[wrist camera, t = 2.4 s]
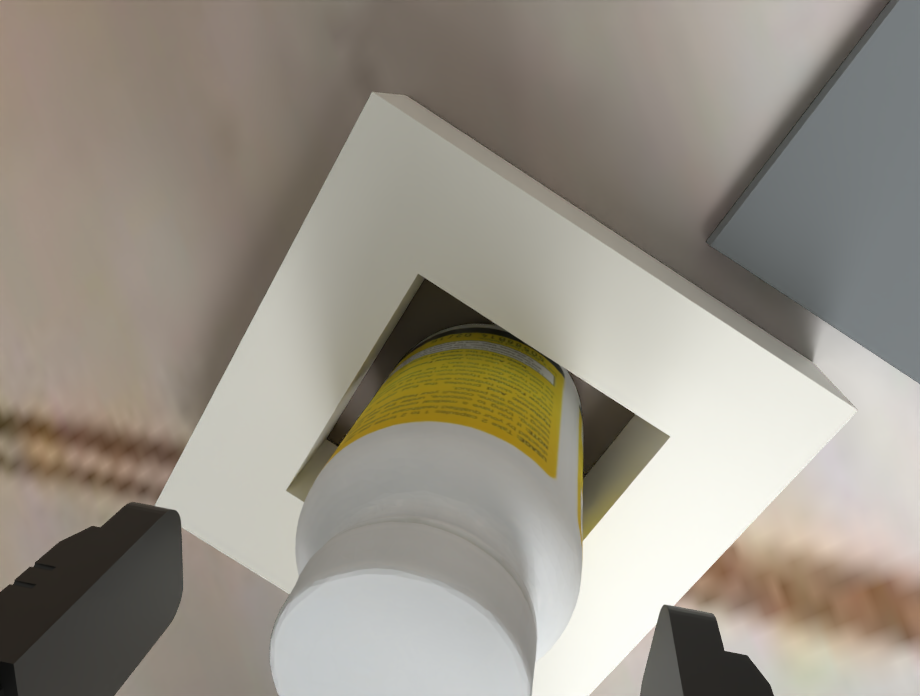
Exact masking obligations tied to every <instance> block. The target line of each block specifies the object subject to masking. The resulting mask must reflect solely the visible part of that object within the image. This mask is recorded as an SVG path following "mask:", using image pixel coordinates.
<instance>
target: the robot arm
mask: <svg viewBox="0 0 920 696" xmlns="http://www.w3.org/2000/svg"><path fill="white" fill-rule="evenodd" d="M182 591H183V566H182V535H181V519H180V515H179V513H178V512H177V511H176V510H173V509H167V508H162V507H157V506H152V505H146V504H141V503H136V502H131V503H129V504H127V505H125V506H124V507H123V508H122V509H121V510H120V511H118V512H117V513H116V514H115V515H114V516H113V517H112V518H111V519H109V520H108V521H107V522H106V523H105V524H104V525H103V526H102V527H101V528H100V527H95V526H91V527H89V528H87V529H85V530H83V531H81V532H79V533H77V534H75V535H73V536H71V537H68V538H66V539H64V540H62V541H60V542H59V543H58V544H56V545H55V546H54V547H53V548H52V549H51V550H49V551H48V552H47V553H46V554H45V555H43V556H42V557H41V558H40V559H39V560H38V561H36V562H35V565H34V567H29V568H28V569H27V570H26V571H25V572H23V573H22V574H21V575H20V576H19V577H18V578H16V579H15V582H14V584H13V585H10V584H9V585H8V586H7V587H6V588H5V589H3V590H2V591H1V592H0V696H114V695H115V694H116V693H117V691H118V690H119V689H120V687H121V686H122V685H123V684H124V682H125V681H126V680H127V678H128V677H129V676H130V675H131V673H132V672H133V671H134V670H135V668H136V667H137V666H138V664H139V663H140V662H141V661H142V659H143V658H144V657H145V655H146V654H147V653H148V652H149V650H150V649H151V648H152V646H153V645H154V644H155V643H156V641H157V640H158V639H159V638H160V636H161V635H162V634H163V632H164V631H165V630H166V629H167V627H168V626H169V625H170V623H171V622H172V620H173V618H174V616H175V614H176V612H177V610H178V607H179V604H180V601H181V597H182ZM640 696H774V695H773V692H772V689H771V686H770V684H769V683H768V681H767V680H766V679H765V678H764V676H763V675H762V674H761V672H760V671H759V670H758V669H757V667H756V666H755V665H754V664H753V662H752V661H751V660H750V658H749V657H748V656H747V655H742V654H737V653H732V652H727V651H724V647H723V643H722V639H721V636H720V632H719V628H718V624H717V621H716V618H715V616H714V615H713V614H712V613H707V612H702V611H697V610H692V609H686V608H681V607H676V606H671V605H663V606H662V608H661V610H660V613H659V617H658V620H657V624H656V628H655V632H654V636H653V640H652V644H651V648H650V652H649V656H648V660H647V664H646V668H645V672H644V676H643V681H642V686H641V693H640Z"/></svg>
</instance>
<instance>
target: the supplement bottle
mask: <svg viewBox="0 0 920 696" xmlns="http://www.w3.org/2000/svg"><path fill="white" fill-rule="evenodd" d="M582 508H583V417H582V408H581V403H580V399H579V395H578V392H577V389H576V387H575V384H574V382H573V380H572V378H571V376H570V375H569V373H568V371H567V370H566V369H565V368H563V367H562V366H560V365H559V364H557V363H556V362H554V361H553V360H551V359H550V358H548V357H546V356H545V355H543V354H542V353H540V352H539V351H537V350H536V349H534V348H533V347H531V346H529V345H528V344H526V343H525V342H523V341H522V340H520V339H519V338H517V337H515V336H514V335H512V334H511V333H509V332H508V331H506V330H505V329H503V328H502V327H500V326H498V325H493V324H465V325H459V326H454V327H451V328H448V329H444V330H442V331H439V332H437V333H435V334H433V335H431V336H429V337H428V338H426V339H424V340H423V341H421V342H420V343H419V344H417V345H416V346H415V347H414V348H412V349H411V350H410V351H409V352H408V353H407V354H406V355H405V356H404V357H403V358H402V359H401V360H400V362H399V363H398V364H397V365H396V366H395V368H394V369H393V371H392V372H391V374H390V375H389V376H388V378H387V379H386V380H385V382H384V383H383V385H382V386H381V387H380V389H379V391H378V392H377V393H376V395H375V396H374V398H373V399H372V400H371V402H370V403H369V404H368V406H367V407H366V408H365V410H364V411H363V413H362V414H361V415H360V417H359V418H358V419H357V421H356V422H355V424H354V425H353V427H352V428H351V429H350V431H349V432H348V434H347V435H346V436H345V438H344V439H343V441H342V442H341V443H340V445H339V446H338V448H337V449H336V451H335V452H334V453H333V455H332V456H331V458H330V459H329V460H328V462H327V463H326V465H325V466H324V468H323V469H322V471H321V472H320V474H319V475H318V477H317V478H316V480H315V482H314V484H313V486H312V487H311V489H310V491H309V493H308V495H307V497H306V499H305V502H304V504H303V507H302V510H301V513H300V516H299V520H298V525H297V532H296V545H295V555H296V564H297V570H298V575H299V578H298V580H297V582H296V585H295V586H294V588H293V590H292V591H291V593H290V595H289V597H288V598H287V600H286V602H285V603H284V605H283V607H282V609H281V610H280V612H279V614H278V616H277V619H276V621H275V624H274V627H273V631H272V634H271V641H270V666H271V672H272V677H273V680H274V683H275V687H276V690H277V692H278V695H279V696H532V688H533V678H534V669H535V662H536V661H538V660H539V659H540V658H541V657H543V656H544V655H545V654H546V653H547V652H548V651H549V650H550V649H551V648H552V646H553V645H554V644H555V643H556V641H557V640H558V639H559V638H560V636H561V635H562V633H563V632H564V630H565V629H566V627H567V625H568V623H569V621H570V619H571V616H572V614H573V612H574V609H575V607H576V603H577V599H578V596H579V592H580V585H581V574H582V561H583V536H582V532H583V527H582V513H583V510H582Z"/></svg>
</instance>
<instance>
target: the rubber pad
mask: <svg viewBox="0 0 920 696" xmlns="http://www.w3.org/2000/svg"><path fill="white" fill-rule="evenodd" d="M706 242H707V243H708V244H709V245H710V246H712V247H713V248H715V249H716V250H718V251H719V252H721V253H722V254H724V255H725V256H727V257H728V258H730V259H731V260H733V261H734V262H736V263H737V264H739V265H740V266H742V267H743V268H745V269H746V270H748V271H749V272H751V273H752V274H754V275H755V276H757V277H759V278H760V279H762V280H763V281H765V282H766V283H768V284H769V285H771V286H772V287H774V288H775V289H777V290H778V291H780V292H781V293H783V294H784V295H786V296H787V297H789V298H790V299H792V300H793V301H795V302H796V303H798V304H799V305H801V306H802V307H804V308H806V309H807V310H809V311H810V312H812V313H813V314H815V315H816V316H818V317H819V318H821V319H822V320H824V321H825V322H827V323H828V324H830V325H831V326H833V327H834V328H836V329H837V330H839V331H840V332H842V333H843V334H845V335H846V336H848V337H849V338H851V339H852V340H854V341H856V342H857V343H859V344H860V345H862V346H863V347H865V348H866V349H868V350H869V351H871V352H872V353H874V354H875V355H877V356H878V357H880V358H881V359H883V360H884V361H886V362H887V363H889V364H890V365H892V366H893V367H895V368H896V369H898V370H899V371H901V372H902V373H904V374H906V375H907V376H909V377H910V378H912V379H913V380H915V381H916V382H918V383H919V384H920V0H890V2H889V3H888V4H887V5H886V7H885V8H884V9H883V11H882V12H881V13H880V15H879V16H878V17H877V19H876V20H875V21H874V22H873V24H872V25H871V26H870V28H869V29H868V30H867V32H866V33H865V34H864V36H863V37H862V38H861V39H860V41H859V42H858V43H857V45H856V46H855V47H854V49H853V50H852V51H851V53H850V54H849V55H848V56H847V58H846V59H845V60H844V62H843V63H842V64H841V66H840V67H839V68H838V70H837V71H836V72H835V73H834V75H833V76H832V77H831V79H830V80H829V81H828V83H827V84H826V85H825V87H824V88H823V89H822V90H821V92H820V93H819V94H818V96H817V97H816V98H815V100H814V101H813V102H812V104H811V105H810V106H809V107H808V109H807V110H806V111H805V113H804V114H803V115H802V117H801V118H800V119H799V121H798V122H797V123H796V124H795V126H794V127H793V128H792V130H791V131H790V132H789V134H788V135H787V136H786V138H785V139H784V140H783V142H782V143H781V144H780V145H779V147H778V148H777V149H776V151H775V152H774V153H773V155H772V156H771V157H770V159H769V160H768V161H767V162H766V164H765V165H764V166H763V168H762V169H761V170H760V172H759V173H758V174H757V176H756V177H755V178H754V179H753V181H752V182H751V183H750V185H749V186H748V187H747V189H746V190H745V191H744V193H743V194H742V195H741V196H740V198H739V199H738V200H737V202H736V203H735V204H734V206H733V207H732V208H731V210H730V211H729V212H728V213H727V215H726V216H725V217H724V219H723V220H722V221H721V223H720V224H719V225H718V227H717V228H716V229H715V230H714V232H713V233H712V234H711V236H710V237H709V238H708V240H707V241H706Z"/></svg>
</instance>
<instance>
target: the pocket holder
mask: <svg viewBox="0 0 920 696" xmlns="http://www.w3.org/2000/svg"><path fill="white" fill-rule="evenodd" d="M425 278H426V279H427V280H429V281H430V282H432V283H433V284H435V285H437V286H438V287H440V288H441V289H443V290H444V291H446V292H447V293H449V294H450V295H452V296H454V297H455V298H457V299H458V300H460V301H461V302H463V303H464V304H466V305H468V306H469V307H471V308H472V309H474V310H475V311H477V312H478V313H480V314H481V315H483V316H485V317H486V318H488V319H489V320H491V321H492V322H494V323H495V324H497V325H498V326H500V327H502V328H503V329H505V330H506V331H508V332H509V333H511V334H512V335H514V336H515V337H517V338H519V339H520V340H522V341H523V342H525V343H526V344H528V345H529V346H531V347H533V348H534V349H536V350H537V351H539V352H540V353H542V354H543V355H545V356H546V357H548V358H550V359H551V360H553V361H554V362H556V363H557V364H559V365H560V366H562V367H563V368H565V369H567V370H568V371H570V372H571V373H573V374H574V375H576V376H577V377H579V378H580V379H582V380H584V381H585V382H587V383H588V384H590V385H591V386H593V387H594V388H596V389H598V390H599V391H601V392H602V393H604V394H605V395H607V396H608V397H610V398H611V399H613V400H615V401H616V402H618V403H619V404H621V405H622V406H624V407H625V408H627V409H628V410H630V411H632V412H633V413H635V415H634V416H633V418H632V419H631V420H630V421H629V423H628V424H627V425H626V426H625V428H624V429H623V430H622V431H621V433H620V434H619V435H618V436H617V438H616V439H615V440H614V441H613V443H612V444H611V445H610V446H609V448H608V449H607V450H606V451H605V453H604V454H603V455H602V456H601V458H600V459H599V460H598V461H597V463H596V464H595V465H594V466H593V467H592V469H591V470H590V471H589V472H588V474H587V475H586V476H585V477H584V479H583V508H582V510H583V513H582V527H583V532H582V536H583V561H582V574H581V585H580V592H579V596H578V599H577V603H576V607H575V609H574V612H573V614H572V616H571V619H570V621H569V623H568V625H567V627H566V629H565V630H564V632H563V633H562V635H561V636H560V638H559V639H558V640H557V641H556V643H555V644H554V645H553V646H552V648H551V649H550V650H549V651H548V652H547V653H546V654H545V655H544V656H543V657H541V658H540V659H539V660H538V661H536V662H535V669H534V678H533V688H532V696H589V695H590V694H591V693H592V692H593V690H594V689H595V688H596V687H597V686H598V685H599V684H600V683H601V682H602V681H603V680H604V679H605V678H606V677H607V676H608V675H609V674H610V672H611V671H612V670H613V669H614V668H615V667H616V666H617V665H618V664H619V663H620V662H621V661H622V660H623V659H624V658H625V657H626V656H627V654H628V653H629V652H630V651H631V650H632V649H633V648H634V647H635V646H636V645H637V644H638V643H639V642H640V641H641V640H642V639H643V638H644V637H645V635H646V634H647V633H648V632H649V631H650V630H651V629H652V628H653V627H654V626H655V625H656V624H657V620H658V617H659V613H660V610H661V608H662V606H663V605H671V606H674V605H675V604H676V603H677V602H678V601H679V599H680V598H681V597H682V596H683V595H684V594H685V593H686V592H687V591H688V590H689V589H690V588H691V587H692V586H693V585H694V584H695V583H696V581H697V580H698V579H699V578H700V577H701V576H702V575H703V574H704V573H705V572H706V571H707V570H708V569H709V568H710V567H711V566H712V565H713V563H714V562H715V561H716V560H717V559H718V558H719V557H720V556H721V555H722V554H723V553H724V552H725V551H726V550H727V549H728V548H729V547H730V545H731V544H732V543H733V542H734V541H735V540H736V539H737V538H738V537H739V536H740V535H741V534H742V533H743V532H744V531H745V530H746V529H747V527H748V526H749V525H750V524H751V523H752V522H753V521H754V520H755V519H756V518H757V517H758V516H759V515H760V514H761V513H762V512H763V511H764V509H765V508H766V507H767V506H768V505H769V504H770V503H771V502H772V501H773V500H774V499H775V498H776V497H777V496H778V495H779V494H780V493H781V491H782V490H783V489H784V488H785V487H786V486H787V485H788V484H789V483H790V482H791V481H792V480H793V479H794V478H795V477H796V476H797V475H798V473H799V472H800V471H801V470H802V469H803V468H804V467H805V466H806V465H807V464H808V463H809V462H810V461H811V460H812V459H813V458H814V457H815V455H816V454H817V453H818V452H819V451H820V450H821V449H822V448H823V447H824V446H825V445H826V444H827V443H828V442H829V441H830V440H831V439H832V437H833V436H834V435H835V434H836V433H837V432H838V431H839V430H840V429H841V428H842V427H843V426H844V425H845V424H846V423H847V422H848V421H849V420H850V418H851V417H852V416H853V415H854V414H855V413H856V412H857V411H858V410H857V409H856V408H855V406H854V405H853V404H852V403H851V402H850V401H849V400H848V399H847V398H846V397H845V396H844V395H843V394H842V393H841V392H840V390H839V389H838V388H837V387H836V386H835V385H834V384H833V383H832V382H831V381H830V380H829V379H828V378H827V377H826V376H825V374H824V373H823V372H822V371H821V370H820V369H819V368H818V367H817V366H816V365H815V364H814V363H813V362H811V361H810V360H808V359H807V358H805V357H804V356H802V355H801V354H799V353H798V352H796V351H795V350H793V349H792V348H790V347H789V346H787V345H786V344H784V343H783V342H781V341H779V340H778V339H776V338H775V337H773V336H772V335H770V334H769V333H767V332H766V331H764V330H763V329H761V328H760V327H758V326H757V325H755V324H754V323H752V322H751V321H749V320H748V319H746V318H744V317H743V316H741V315H740V314H738V313H737V312H735V311H734V310H732V309H731V308H729V307H728V306H726V305H725V304H723V303H722V302H720V301H719V300H717V299H716V298H714V297H712V296H711V295H709V294H708V293H706V292H705V291H703V290H702V289H700V288H699V287H697V286H696V285H694V284H693V283H691V282H690V281H688V280H687V279H685V278H684V277H682V276H681V275H679V274H677V273H676V272H674V271H673V270H671V269H670V268H668V267H667V266H665V265H664V264H662V263H661V262H659V261H658V260H656V259H655V258H653V257H652V256H650V255H649V254H647V253H645V252H644V251H642V250H641V249H639V248H638V247H636V246H635V245H633V244H632V243H630V242H629V241H627V240H626V239H624V238H623V237H621V236H620V235H618V234H617V233H615V232H614V231H612V230H610V229H609V228H607V227H606V226H604V225H603V224H601V223H600V222H598V221H597V220H595V219H594V218H592V217H591V216H589V215H588V214H586V213H585V212H583V211H582V210H580V209H578V208H577V207H575V206H574V205H572V204H571V203H569V202H568V201H566V200H565V199H563V198H562V197H560V196H559V195H557V194H556V193H554V192H553V191H551V190H550V189H548V188H547V187H545V186H543V185H542V184H540V183H539V182H537V181H536V180H534V179H533V178H531V177H530V176H528V175H527V174H525V173H524V172H522V171H521V170H519V169H518V168H516V167H515V166H513V165H512V164H510V163H508V162H507V161H505V160H504V159H502V158H501V157H499V156H498V155H496V154H495V153H493V152H492V151H490V150H489V149H487V148H486V147H484V146H483V145H481V144H480V143H478V142H476V141H475V140H473V139H472V138H470V137H469V136H467V135H466V134H464V133H463V132H461V131H460V130H458V129H457V128H455V127H454V126H452V125H451V124H449V123H448V122H446V121H445V120H443V119H441V118H440V117H438V116H437V115H435V114H434V113H432V112H431V111H429V110H428V109H426V108H425V107H423V106H422V105H420V104H419V103H417V102H416V101H414V100H413V99H411V98H409V97H408V96H406V95H399V94H389V93H380V92H372V93H371V95H370V97H369V99H368V101H367V103H366V104H365V106H364V108H363V110H362V112H361V114H360V116H359V118H358V120H357V122H356V123H355V125H354V127H353V129H352V131H351V133H350V135H349V137H348V139H347V141H346V143H345V144H344V146H343V148H342V150H341V152H340V154H339V156H338V158H337V160H336V162H335V163H334V165H333V167H332V169H331V171H330V173H329V175H328V177H327V179H326V181H325V182H324V184H323V186H322V188H321V190H320V192H319V194H318V196H317V198H316V200H315V202H314V203H313V205H312V207H311V209H310V211H309V213H308V215H307V217H306V219H305V221H304V222H303V224H302V226H301V228H300V230H299V232H298V234H297V236H296V238H295V240H294V241H293V243H292V245H291V247H290V249H289V251H288V253H287V255H286V257H285V259H284V260H283V262H282V264H281V266H280V268H279V270H278V272H277V274H276V276H275V278H274V280H273V281H272V283H271V285H270V287H269V289H268V291H267V293H266V295H265V297H264V299H263V300H262V302H261V304H260V306H259V308H258V310H257V312H256V314H255V316H254V318H253V319H252V321H251V323H250V325H249V327H248V329H247V331H246V333H245V335H244V337H243V338H242V340H241V342H240V344H239V346H238V348H237V350H236V352H235V354H234V356H233V358H232V359H231V361H230V363H229V365H228V367H227V369H226V371H225V373H224V375H223V377H222V378H221V380H220V382H219V384H218V386H217V388H216V390H215V392H214V394H213V396H212V397H211V399H210V401H209V403H208V405H207V407H206V409H205V411H204V413H203V415H202V417H201V418H200V420H199V422H198V424H197V426H196V428H195V430H194V432H193V434H192V436H191V437H190V439H189V441H188V443H187V445H186V447H185V449H184V451H183V453H182V455H181V456H180V458H179V460H178V462H177V464H176V466H175V468H174V470H173V472H172V474H171V475H170V477H169V479H168V481H167V483H166V485H165V487H164V489H163V491H162V493H161V495H160V496H159V498H158V500H157V502H156V504H155V506H157V507H162V508H167V509H173V510H176V511H177V512H178V513H179V515H180V519H181V527H182V528H183V529H185V530H186V531H188V532H190V533H191V534H193V535H195V536H196V537H198V538H199V539H201V540H203V541H204V542H206V543H207V544H209V545H211V546H212V547H214V548H215V549H217V550H219V551H220V552H222V553H223V554H225V555H227V556H228V557H230V558H232V559H233V560H235V561H236V562H238V563H240V564H241V565H243V566H244V567H246V568H248V569H249V570H251V571H252V572H254V573H256V574H257V575H259V576H260V577H262V578H264V579H265V580H267V581H269V582H270V583H272V584H273V585H275V586H277V587H278V588H280V589H281V590H283V591H285V592H286V593H288V594H289V595H290V593H291V591H292V590H293V588H294V586H295V585H296V582H297V580H298V578H299V575H298V570H297V564H296V555H295V545H296V532H297V525H298V520H299V516H300V513H301V510H302V507H303V504H304V502H305V499H306V497H307V495H308V493H309V491H310V489H311V487H312V486H313V484H314V482H315V480H316V478H317V477H318V475H319V474H320V472H321V471H322V469H323V468H324V466H325V465H326V463H327V462H328V460H329V459H330V458H331V456H332V455H333V453H334V452H335V451H336V449H337V448H338V446H336V445H335V444H333V443H331V442H330V441H328V440H327V439H326V438H327V437H328V435H329V433H330V432H331V430H332V429H333V427H334V425H335V424H336V422H337V420H338V419H339V417H340V416H341V414H342V412H343V411H344V409H345V407H346V406H347V404H348V402H349V401H350V399H351V398H352V396H353V394H354V393H355V391H356V389H357V388H358V386H359V385H360V383H361V381H362V380H363V378H364V376H365V375H366V373H367V372H368V370H369V368H370V367H371V365H372V363H373V362H374V360H375V359H376V357H377V355H378V354H379V352H380V350H381V349H382V347H383V346H384V344H385V342H386V341H387V339H388V337H389V336H390V334H391V333H392V331H393V329H394V328H395V326H396V324H397V323H398V321H399V320H400V318H401V316H402V315H403V313H404V311H405V310H406V308H407V307H408V305H409V303H410V302H411V300H412V298H413V297H414V295H415V293H416V292H417V290H418V289H419V287H420V285H421V284H422V282H423V280H424V279H425Z"/></svg>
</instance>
